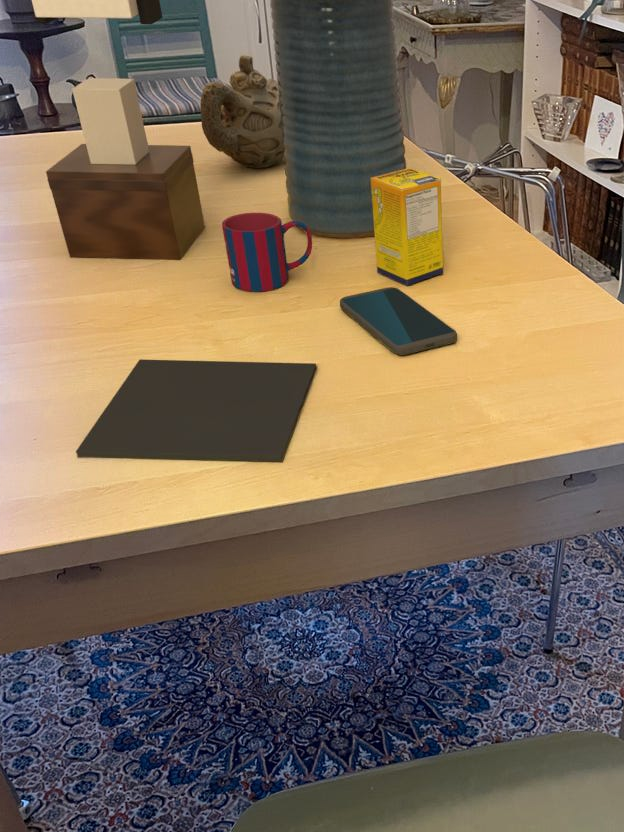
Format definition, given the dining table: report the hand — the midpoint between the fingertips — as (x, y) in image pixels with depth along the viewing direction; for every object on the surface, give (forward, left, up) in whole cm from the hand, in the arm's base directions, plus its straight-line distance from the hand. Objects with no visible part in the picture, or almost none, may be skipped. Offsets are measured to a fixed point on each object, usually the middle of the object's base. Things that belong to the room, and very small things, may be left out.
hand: (100, 19), depth 66 cm
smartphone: (+17, +22, -31) cm, 42 cm away
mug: (+1, +34, -31) cm, 46 cm away
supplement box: (+17, +37, -31) cm, 51 cm away
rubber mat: (+1, +2, -31) cm, 31 cm away
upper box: (0, 0, +1) cm, 1 cm away
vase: (+7, +56, -31) cm, 64 cm away
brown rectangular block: (-19, +46, -31) cm, 58 cm away
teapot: (-11, +80, -31) cm, 86 cm away
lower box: (-19, +46, -21) cm, 54 cm away
